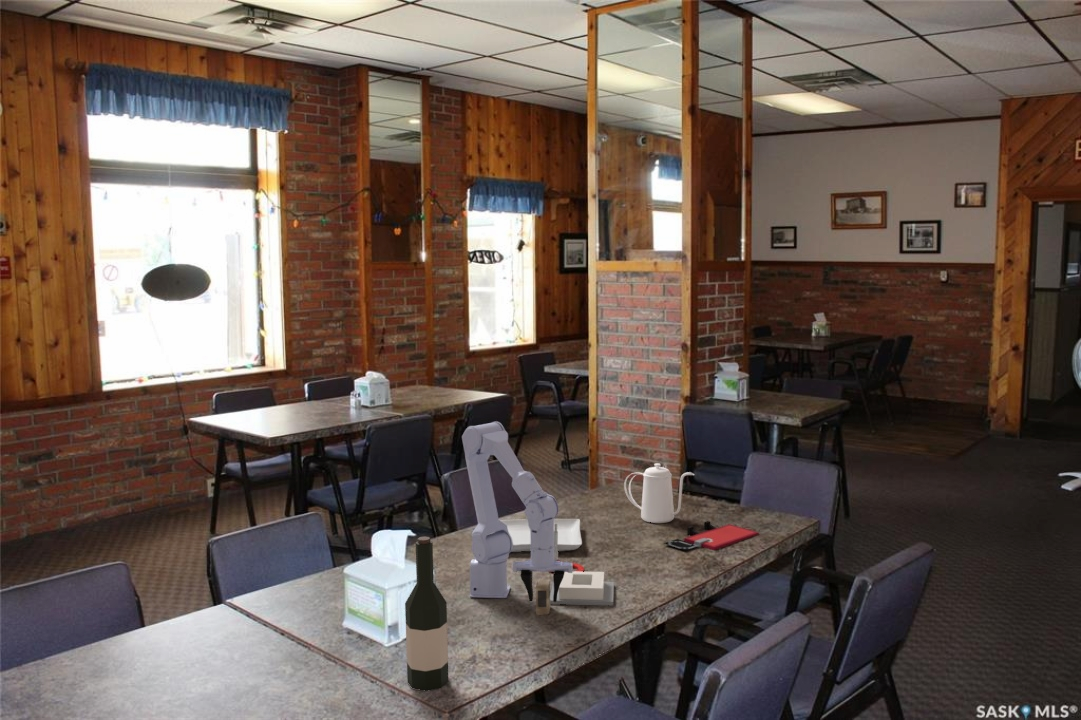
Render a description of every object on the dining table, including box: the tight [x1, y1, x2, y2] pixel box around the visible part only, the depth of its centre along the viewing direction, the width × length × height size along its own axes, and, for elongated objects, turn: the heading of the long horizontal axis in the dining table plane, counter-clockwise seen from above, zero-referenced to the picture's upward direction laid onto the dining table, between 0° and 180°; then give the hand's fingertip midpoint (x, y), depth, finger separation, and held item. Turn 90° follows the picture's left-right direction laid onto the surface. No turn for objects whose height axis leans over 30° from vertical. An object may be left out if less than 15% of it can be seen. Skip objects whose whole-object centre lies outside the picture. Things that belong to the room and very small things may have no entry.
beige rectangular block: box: [535, 578, 551, 615], centre depth 218 cm, size 3×5×7 cm, turn 175°
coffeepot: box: [623, 462, 695, 524], centre depth 294 cm, size 11×25×19 cm, turn 58°
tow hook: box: [554, 524, 585, 572], centre depth 246 cm, size 8×13×9 cm
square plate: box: [493, 518, 583, 553], centre depth 273 cm, size 27×27×4 cm
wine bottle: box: [404, 536, 449, 692], centre depth 180 cm, size 8×8×30 cm
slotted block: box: [550, 570, 615, 607], centre depth 228 cm, size 16×14×4 cm
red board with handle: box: [663, 520, 760, 551], centre depth 273 cm, size 30×3×15 cm
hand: (543, 600), depth 218 cm, fingers open, 5 cm apart
